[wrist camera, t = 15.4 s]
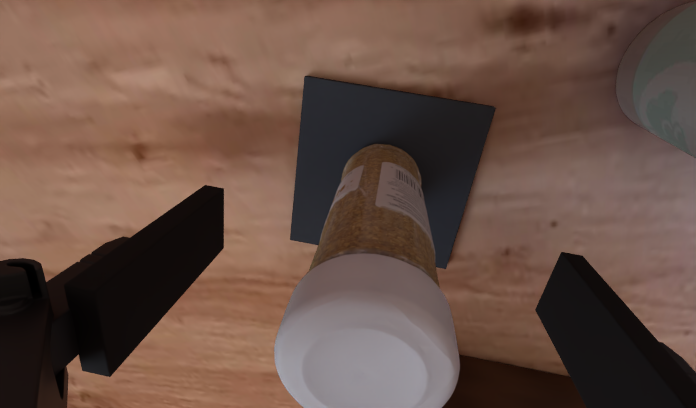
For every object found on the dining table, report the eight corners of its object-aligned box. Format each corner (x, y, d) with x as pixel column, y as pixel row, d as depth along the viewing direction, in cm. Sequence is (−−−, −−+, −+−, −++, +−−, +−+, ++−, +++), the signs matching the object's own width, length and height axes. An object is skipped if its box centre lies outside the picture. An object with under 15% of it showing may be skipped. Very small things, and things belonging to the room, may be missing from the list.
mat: (494, 106, 19) (496, 107, 18) (445, 265, 23) (446, 269, 23) (306, 75, 19) (304, 76, 19) (291, 237, 23) (289, 239, 23)
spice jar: (331, 157, 21) (235, 322, 8) (408, 130, 19) (432, 276, 7) (358, 225, 22) (313, 450, 10) (432, 205, 21) (484, 428, 9)
